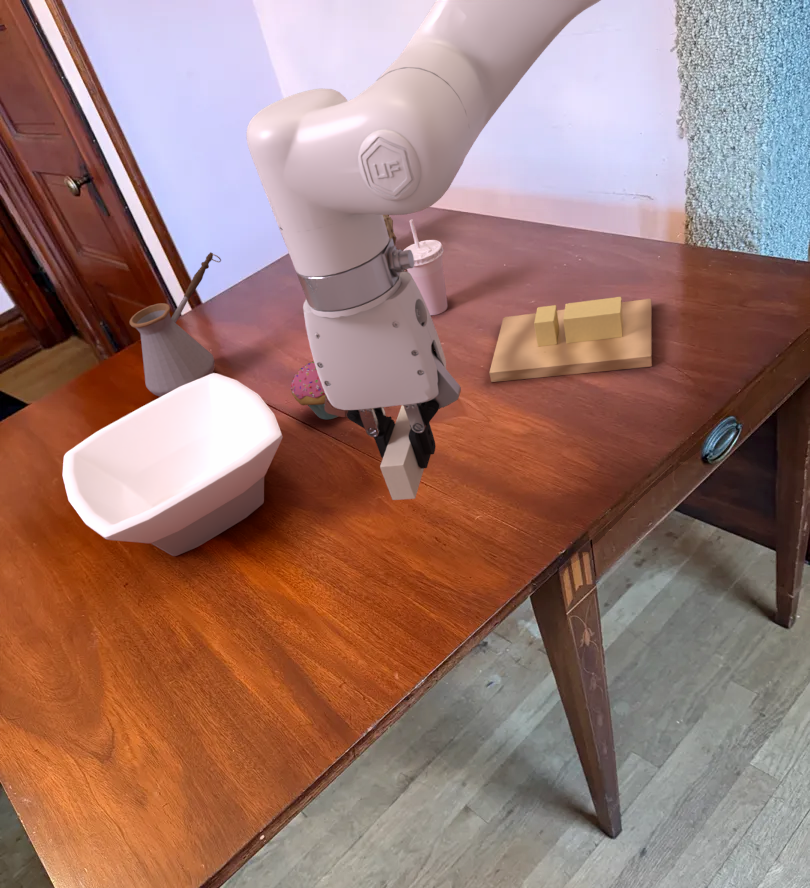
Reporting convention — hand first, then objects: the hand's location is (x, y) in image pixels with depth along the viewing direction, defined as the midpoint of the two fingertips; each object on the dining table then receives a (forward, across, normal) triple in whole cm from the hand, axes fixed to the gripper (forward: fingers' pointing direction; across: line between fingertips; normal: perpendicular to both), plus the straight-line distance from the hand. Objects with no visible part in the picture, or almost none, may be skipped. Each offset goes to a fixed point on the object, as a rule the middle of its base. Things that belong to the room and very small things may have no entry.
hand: (411, 458), depth 70 cm
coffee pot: (+12, +48, -43) cm, 65 cm away
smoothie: (+12, +11, -53) cm, 55 cm away
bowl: (+12, +33, -9) cm, 36 cm away
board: (+12, -11, -37) cm, 41 cm away
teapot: (+12, +26, -72) cm, 77 cm away
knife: (+1, 0, -5) cm, 5 cm away
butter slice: (+11, -8, -37) cm, 40 cm away
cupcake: (+12, +21, -28) cm, 37 cm away
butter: (+11, -14, -37) cm, 41 cm away
